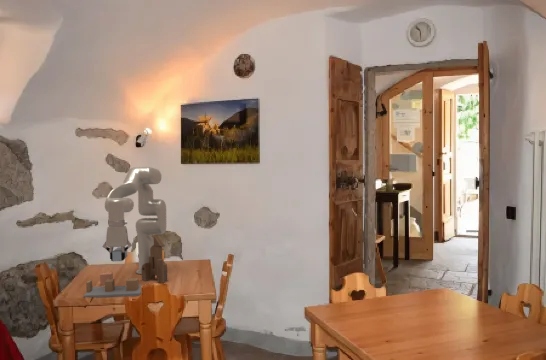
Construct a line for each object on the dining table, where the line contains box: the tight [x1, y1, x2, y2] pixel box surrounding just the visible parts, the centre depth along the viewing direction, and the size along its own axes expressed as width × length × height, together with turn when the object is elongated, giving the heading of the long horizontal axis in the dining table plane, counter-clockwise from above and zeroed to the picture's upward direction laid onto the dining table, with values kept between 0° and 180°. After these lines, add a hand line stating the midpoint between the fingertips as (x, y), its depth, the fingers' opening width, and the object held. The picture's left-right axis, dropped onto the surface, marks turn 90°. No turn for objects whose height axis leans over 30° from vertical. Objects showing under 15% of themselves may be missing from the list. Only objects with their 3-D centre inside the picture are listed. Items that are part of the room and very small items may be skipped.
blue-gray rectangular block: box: [111, 246, 128, 262], centre depth 268 cm, size 13×4×5 cm, turn 3°
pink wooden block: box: [99, 272, 114, 287], centre depth 279 cm, size 4×6×6 cm
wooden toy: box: [141, 234, 169, 284], centre depth 285 cm, size 16×7×25 cm, turn 55°
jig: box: [82, 277, 143, 298], centre depth 263 cm, size 16×27×6 cm, turn 94°
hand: (117, 259), depth 263 cm, fingers closed on blue-gray rectangular block, 4 cm apart
